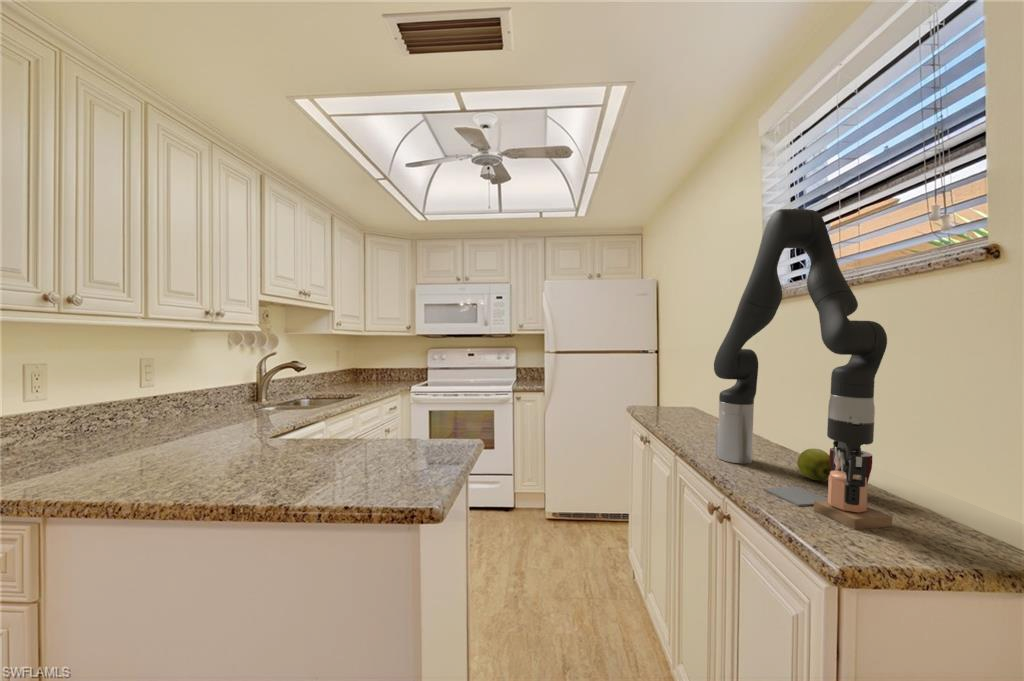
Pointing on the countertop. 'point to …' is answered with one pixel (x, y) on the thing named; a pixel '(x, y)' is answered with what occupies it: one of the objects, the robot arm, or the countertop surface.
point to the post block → (854, 516)
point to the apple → (814, 464)
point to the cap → (838, 493)
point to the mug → (866, 454)
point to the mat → (796, 495)
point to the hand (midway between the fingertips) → (846, 497)
